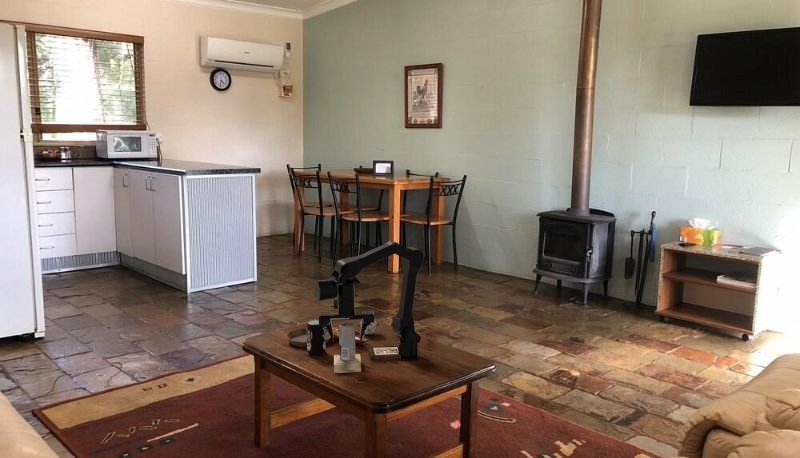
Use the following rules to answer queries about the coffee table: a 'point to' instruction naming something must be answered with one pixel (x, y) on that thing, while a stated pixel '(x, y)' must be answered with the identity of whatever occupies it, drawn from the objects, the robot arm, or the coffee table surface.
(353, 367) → the plinth
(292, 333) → the plant saucer
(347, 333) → the energy drink
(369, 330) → the game die
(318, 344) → the beverage can
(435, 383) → the coffee table surface
